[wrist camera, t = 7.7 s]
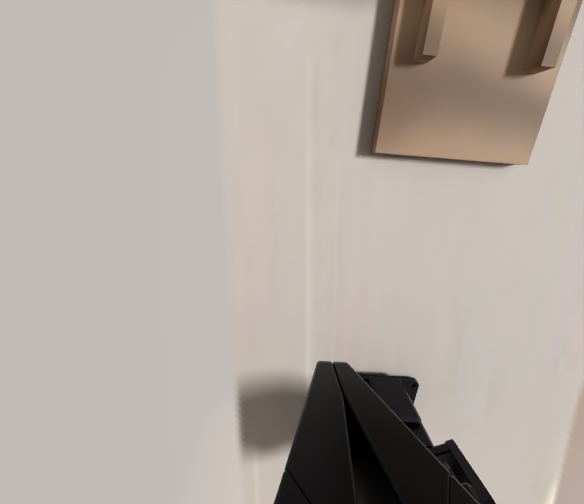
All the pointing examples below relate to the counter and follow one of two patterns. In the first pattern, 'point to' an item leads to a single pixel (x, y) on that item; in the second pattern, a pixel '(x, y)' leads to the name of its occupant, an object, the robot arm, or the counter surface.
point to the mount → (470, 77)
